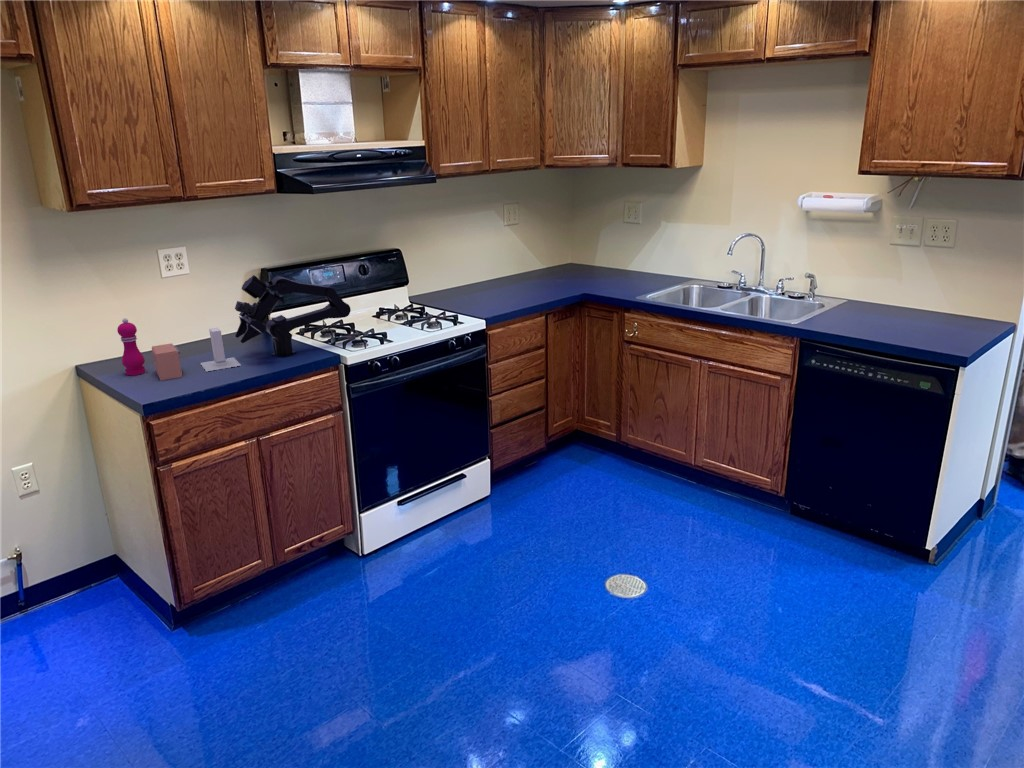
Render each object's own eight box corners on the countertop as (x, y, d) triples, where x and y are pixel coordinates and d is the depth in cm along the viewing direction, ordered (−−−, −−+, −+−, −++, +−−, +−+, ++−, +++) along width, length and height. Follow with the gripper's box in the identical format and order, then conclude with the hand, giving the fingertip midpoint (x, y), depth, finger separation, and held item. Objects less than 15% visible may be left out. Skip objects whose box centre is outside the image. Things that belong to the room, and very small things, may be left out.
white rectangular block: (223, 361, 270) (217, 327, 266) (226, 365, 266) (220, 330, 262) (214, 363, 269) (208, 328, 264) (217, 366, 265) (211, 331, 260)
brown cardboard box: (179, 367, 266) (175, 342, 263) (185, 376, 256) (180, 350, 253) (156, 371, 262) (151, 346, 259) (160, 380, 252) (155, 354, 249)
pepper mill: (121, 373, 261) (110, 318, 255) (142, 368, 266) (132, 314, 259) (128, 377, 256) (117, 322, 250) (150, 372, 261) (139, 318, 254)
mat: (234, 358, 275) (233, 357, 275) (241, 366, 266) (241, 365, 266) (200, 364, 269) (200, 363, 269) (206, 372, 260) (206, 371, 260)
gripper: (241, 288, 273) (215, 322, 272) (252, 297, 258) (224, 332, 256) (265, 306, 280) (240, 339, 278) (277, 315, 264) (251, 350, 263)
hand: (238, 339), depth 269 cm, fingers open, 9 cm apart
